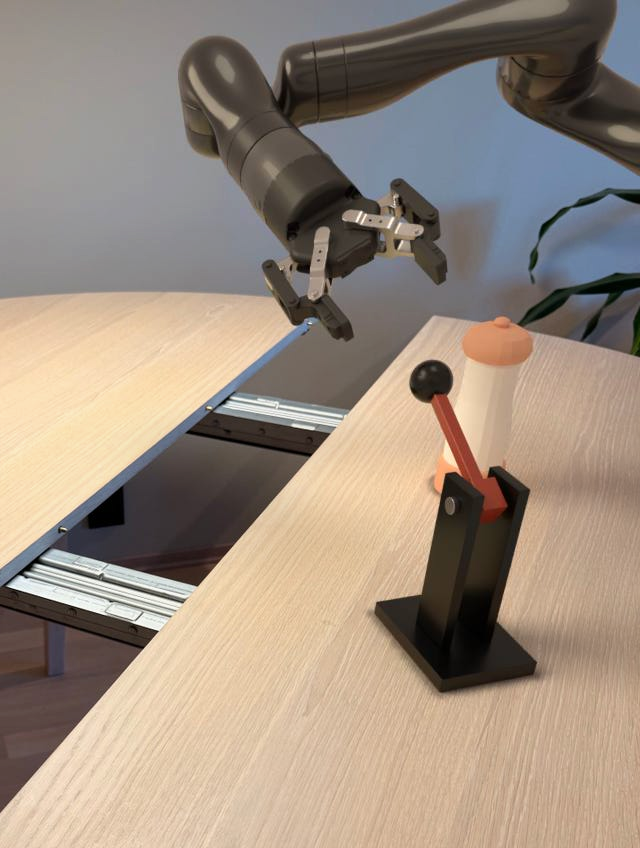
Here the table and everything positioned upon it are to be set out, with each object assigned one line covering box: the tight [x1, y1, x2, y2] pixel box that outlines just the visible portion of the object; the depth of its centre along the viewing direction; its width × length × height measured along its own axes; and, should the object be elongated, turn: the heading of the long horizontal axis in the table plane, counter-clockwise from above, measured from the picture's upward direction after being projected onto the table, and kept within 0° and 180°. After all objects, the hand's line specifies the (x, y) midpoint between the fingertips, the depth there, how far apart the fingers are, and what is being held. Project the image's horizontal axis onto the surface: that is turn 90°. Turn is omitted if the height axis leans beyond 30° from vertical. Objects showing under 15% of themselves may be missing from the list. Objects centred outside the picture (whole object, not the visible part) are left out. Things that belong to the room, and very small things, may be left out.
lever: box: [408, 359, 508, 524], centre depth 81 cm, size 15×4×4 cm, turn 16°
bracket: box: [373, 466, 538, 693], centre depth 82 cm, size 12×9×16 cm
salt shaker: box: [433, 316, 534, 495], centre depth 105 cm, size 7×7×19 cm
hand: (395, 305), depth 79 cm, fingers open, 8 cm apart
